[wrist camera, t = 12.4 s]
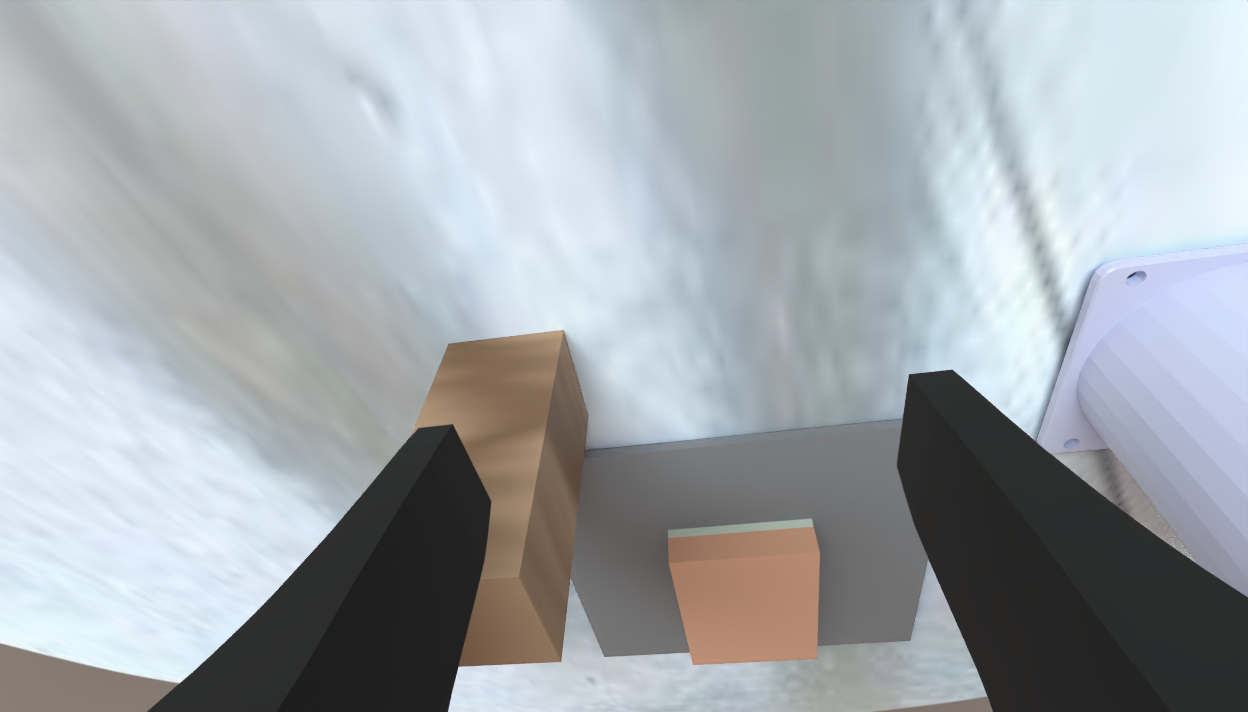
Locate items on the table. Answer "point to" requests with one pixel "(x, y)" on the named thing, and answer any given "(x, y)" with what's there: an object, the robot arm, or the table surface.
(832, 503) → the rubber mat
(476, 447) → the wooden block
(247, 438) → the table surface
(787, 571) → the flat slab
